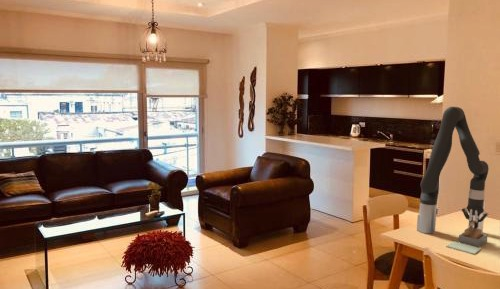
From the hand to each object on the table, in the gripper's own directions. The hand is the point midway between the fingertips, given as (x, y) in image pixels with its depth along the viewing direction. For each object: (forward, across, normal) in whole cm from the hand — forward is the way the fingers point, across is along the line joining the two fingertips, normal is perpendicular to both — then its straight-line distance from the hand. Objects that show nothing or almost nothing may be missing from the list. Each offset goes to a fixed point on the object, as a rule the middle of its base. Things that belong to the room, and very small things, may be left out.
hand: (473, 227), depth 226 cm
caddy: (+7, 0, 0) cm, 7 cm away
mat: (+8, 0, -13) cm, 15 cm away
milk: (+8, -5, +18) cm, 21 cm away
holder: (+8, 0, 0) cm, 8 cm away
